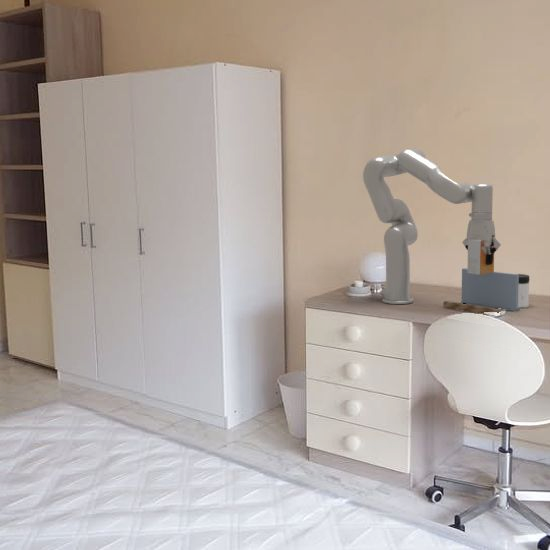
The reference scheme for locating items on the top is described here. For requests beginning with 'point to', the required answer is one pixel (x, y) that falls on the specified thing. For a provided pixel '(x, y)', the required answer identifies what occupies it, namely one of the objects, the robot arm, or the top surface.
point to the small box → (478, 258)
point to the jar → (523, 291)
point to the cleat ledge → (469, 307)
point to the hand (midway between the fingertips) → (480, 263)
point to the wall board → (491, 290)
